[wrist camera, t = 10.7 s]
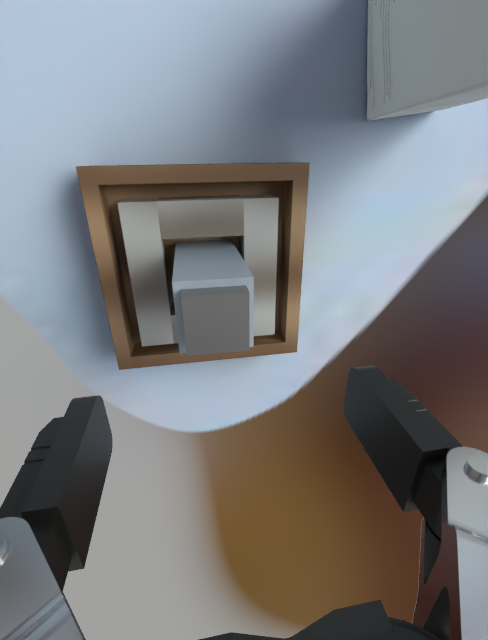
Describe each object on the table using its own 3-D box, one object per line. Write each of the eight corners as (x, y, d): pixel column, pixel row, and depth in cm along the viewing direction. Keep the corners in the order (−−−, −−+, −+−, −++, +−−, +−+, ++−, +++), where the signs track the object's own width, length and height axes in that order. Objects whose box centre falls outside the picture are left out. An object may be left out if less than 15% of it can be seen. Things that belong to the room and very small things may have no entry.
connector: (176, 241, 24) (171, 289, 15) (231, 239, 24) (257, 283, 15) (181, 293, 26) (179, 363, 17) (232, 289, 26) (257, 356, 17)
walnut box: (89, 165, 22) (74, 166, 19) (295, 162, 24) (310, 162, 21) (125, 349, 28) (118, 371, 25) (286, 334, 30) (297, 353, 27)
